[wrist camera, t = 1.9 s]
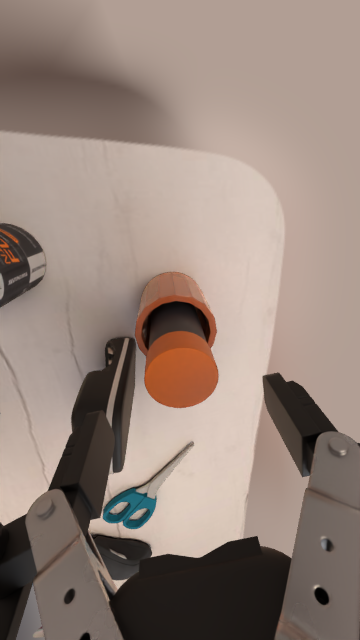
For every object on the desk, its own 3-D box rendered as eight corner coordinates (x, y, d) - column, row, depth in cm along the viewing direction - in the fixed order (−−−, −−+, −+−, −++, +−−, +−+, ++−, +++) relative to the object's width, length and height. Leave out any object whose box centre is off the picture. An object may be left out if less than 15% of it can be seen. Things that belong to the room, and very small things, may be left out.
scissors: (98, 519, 38) (173, 436, 32) (100, 512, 39) (172, 430, 33) (137, 531, 40) (214, 454, 34) (137, 524, 41) (212, 448, 35)
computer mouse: (125, 576, 48) (122, 606, 45) (34, 557, 43) (23, 590, 40) (158, 544, 44) (158, 574, 41) (62, 520, 39) (52, 552, 36)
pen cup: (134, 279, 24) (124, 306, 18) (196, 265, 24) (209, 286, 18) (150, 334, 27) (147, 374, 21) (207, 321, 27) (221, 358, 20)
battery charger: (99, 333, 26) (60, 416, 16) (136, 335, 27) (121, 416, 17) (102, 386, 29) (70, 485, 19) (135, 387, 30) (121, 484, 19)
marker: (146, 288, 24) (135, 357, 13) (189, 279, 24) (212, 340, 13) (157, 326, 26) (154, 414, 15) (196, 317, 26) (223, 399, 15)
